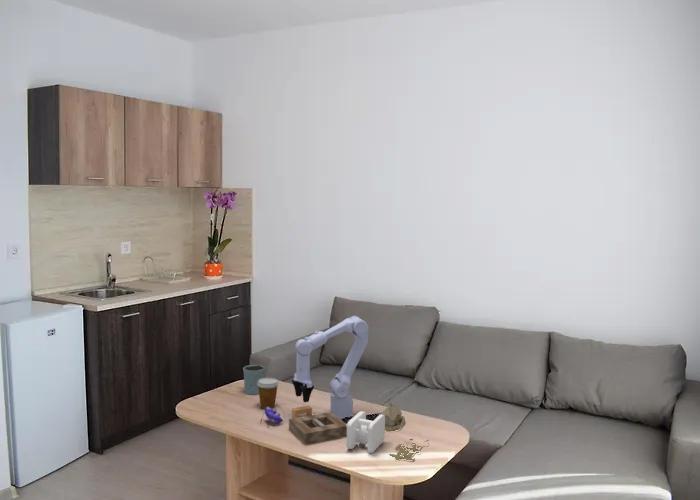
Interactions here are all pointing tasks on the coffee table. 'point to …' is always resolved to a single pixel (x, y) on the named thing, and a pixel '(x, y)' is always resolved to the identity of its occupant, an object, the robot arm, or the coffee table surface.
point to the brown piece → (318, 428)
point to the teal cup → (252, 378)
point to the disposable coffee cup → (267, 392)
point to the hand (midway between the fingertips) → (302, 398)
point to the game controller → (272, 415)
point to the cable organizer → (365, 431)
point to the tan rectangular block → (301, 411)
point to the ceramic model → (393, 417)
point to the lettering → (405, 452)
